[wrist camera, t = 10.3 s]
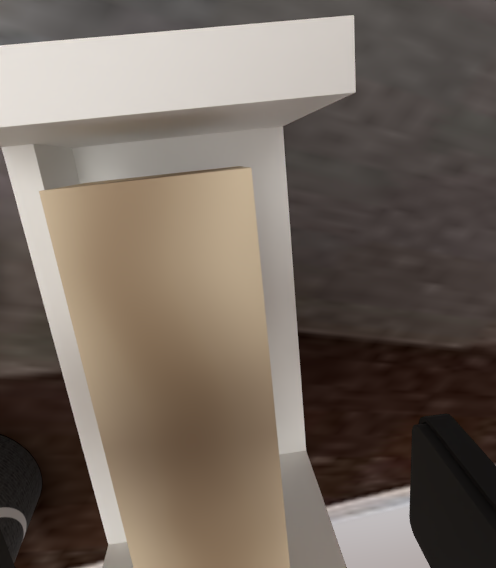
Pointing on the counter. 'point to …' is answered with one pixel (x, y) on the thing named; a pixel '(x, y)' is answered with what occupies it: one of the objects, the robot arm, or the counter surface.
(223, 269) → the oak board
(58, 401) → the counter surface
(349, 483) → the counter surface
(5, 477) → the coffee cup
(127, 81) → the peg frame
